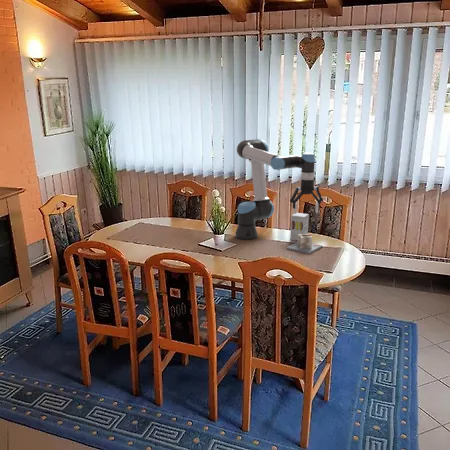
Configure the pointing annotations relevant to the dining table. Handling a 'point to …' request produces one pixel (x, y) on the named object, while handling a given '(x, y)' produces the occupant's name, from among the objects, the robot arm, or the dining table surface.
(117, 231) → the dining table surface
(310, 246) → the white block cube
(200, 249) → the dining table surface
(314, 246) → the shaft plate
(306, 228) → the supplement box
